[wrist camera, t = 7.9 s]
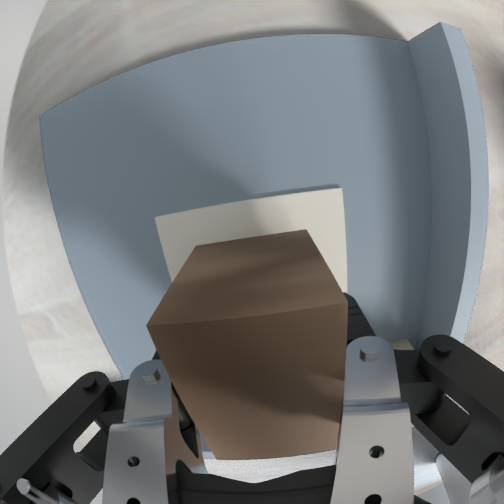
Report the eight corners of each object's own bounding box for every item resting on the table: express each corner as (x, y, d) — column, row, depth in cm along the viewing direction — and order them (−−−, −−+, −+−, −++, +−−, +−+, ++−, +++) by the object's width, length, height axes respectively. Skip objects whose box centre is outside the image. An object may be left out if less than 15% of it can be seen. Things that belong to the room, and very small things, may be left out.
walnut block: (306, 228, 10) (348, 301, 5) (315, 356, 12) (335, 449, 7) (195, 245, 10) (146, 325, 5) (228, 367, 12) (216, 459, 7)
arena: (410, 383, 16) (429, 420, 13) (155, 413, 18) (142, 452, 14) (417, 50, 9) (460, 28, 5) (50, 116, 10) (0, 115, 7)
